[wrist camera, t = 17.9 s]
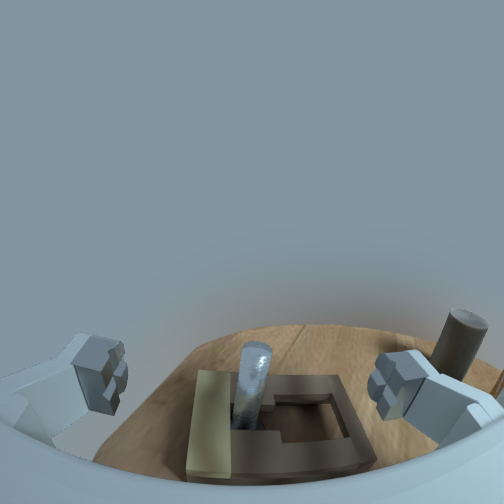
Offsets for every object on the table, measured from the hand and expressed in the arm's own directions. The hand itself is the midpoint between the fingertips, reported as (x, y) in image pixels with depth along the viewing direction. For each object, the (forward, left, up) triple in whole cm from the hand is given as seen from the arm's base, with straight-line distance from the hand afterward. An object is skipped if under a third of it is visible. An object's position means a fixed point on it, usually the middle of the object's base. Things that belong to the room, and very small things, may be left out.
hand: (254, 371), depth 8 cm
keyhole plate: (-7, -16, -26) cm, 31 cm away
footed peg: (-3, -16, -26) cm, 31 cm away
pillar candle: (-46, -26, -26) cm, 59 cm away
